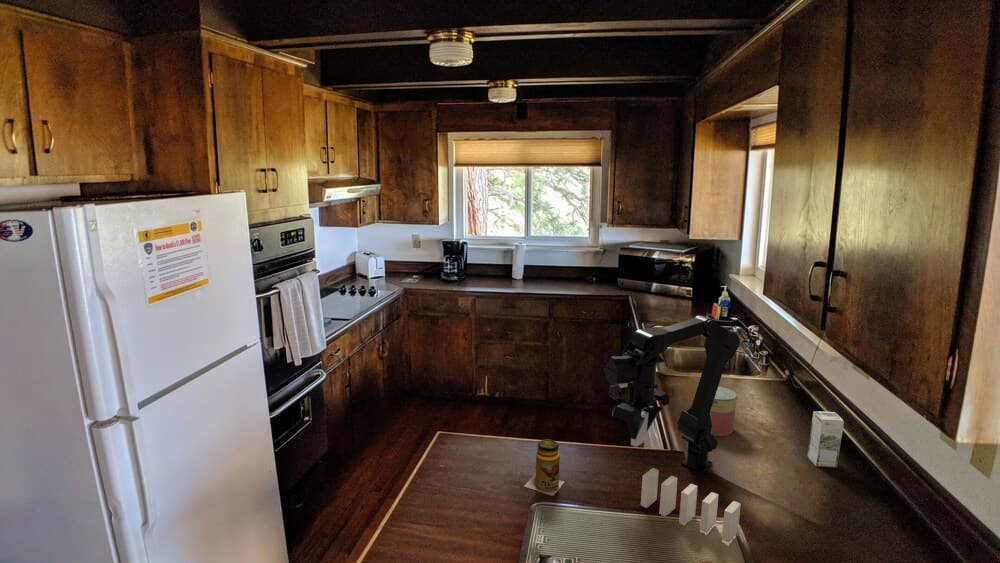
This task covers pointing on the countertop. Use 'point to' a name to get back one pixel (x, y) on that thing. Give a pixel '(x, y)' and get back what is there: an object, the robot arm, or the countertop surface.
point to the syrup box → (825, 439)
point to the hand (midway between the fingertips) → (639, 435)
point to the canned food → (723, 411)
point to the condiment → (546, 468)
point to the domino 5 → (709, 512)
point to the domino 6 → (731, 521)
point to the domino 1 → (641, 431)
